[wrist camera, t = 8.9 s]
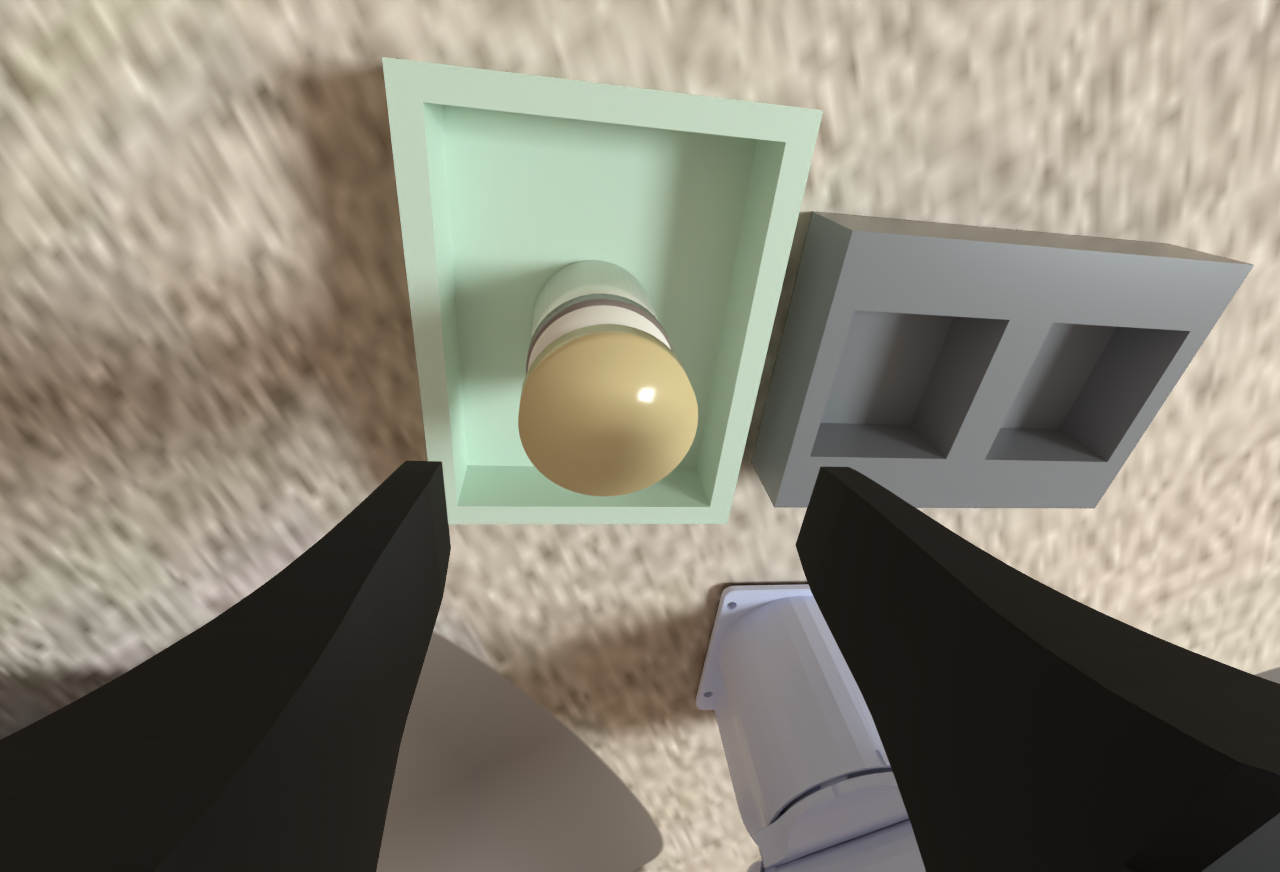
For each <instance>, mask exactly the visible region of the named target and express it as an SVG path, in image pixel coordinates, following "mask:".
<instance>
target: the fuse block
mask: <svg viewBox="0 0 1280 872" xmlns="http://www.w3.org/2000/svg"><path fill="white" fill-rule="evenodd" d="M1253 266H1254V265H1252V264H1248V263H1244V262H1240V261H1236V260H1232V259H1228V258H1224V257H1220V256H1216V255H1212V254H1208V253H1204V252H1200V251H1196V250H1192V249H1188V248H1184V247H1180V246H1176V245H1172V244H1166V243H1154V242H1143V241H1132V240H1121V239H1110V238H1099V237H1088V236H1077V235H1066V234H1055V233H1044V232H1033V231H1022V230H1011V229H1000V228H989V227H978V226H967V225H956V224H945V223H934V222H923V221H912V220H901V219H890V218H879V217H868V216H857V215H846V214H834V213H823V212H812V215H811V220H810V224H809V228H808V232H807V236H806V240H805V244H804V248H803V252H802V257H801V261H800V265H799V269H798V273H797V277H796V281H795V285H794V289H793V294H792V298H791V302H790V306H789V310H788V314H787V318H786V322H785V326H784V331H783V335H782V339H781V343H780V347H779V351H778V355H777V359H776V363H775V368H774V372H773V376H772V380H771V384H770V388H769V392H768V396H767V400H766V405H765V409H764V413H763V417H762V421H761V425H760V429H759V433H758V437H757V442H756V446H755V450H754V454H753V458H752V462H751V463H752V465H753V467H754V469H755V471H756V473H757V474H758V476H759V478H760V480H761V482H762V484H763V486H764V488H765V490H766V492H767V494H768V496H769V498H770V500H771V502H772V503H773V505H774V507H808V504H809V501H810V498H811V495H812V492H813V489H814V485H815V482H816V479H817V476H818V473H819V470H820V467H850V468H852V469H854V470H856V471H858V472H860V473H862V474H863V475H865V476H867V477H868V478H870V479H872V480H873V481H875V482H876V483H878V484H880V485H881V486H883V487H884V488H886V489H887V490H889V491H891V492H892V493H894V494H895V495H897V496H898V497H900V498H901V499H903V500H904V501H906V502H907V503H909V504H910V505H912V506H913V507H915V508H1095V507H1096V506H1097V504H1098V503H1099V501H1100V500H1101V498H1102V496H1103V495H1104V493H1105V492H1106V490H1107V489H1108V487H1109V486H1110V484H1111V483H1112V481H1113V480H1114V478H1115V477H1116V475H1117V474H1118V472H1119V471H1120V469H1121V467H1122V466H1123V464H1124V463H1125V461H1126V460H1127V458H1128V457H1129V455H1130V454H1131V452H1132V451H1133V449H1134V448H1135V446H1136V445H1137V443H1138V442H1139V440H1140V438H1141V437H1142V435H1143V434H1144V432H1145V431H1146V429H1147V428H1148V426H1149V425H1150V423H1151V422H1152V420H1153V419H1154V417H1155V416H1156V414H1157V413H1158V411H1159V409H1160V408H1161V406H1162V405H1163V403H1164V402H1165V400H1166V399H1167V397H1168V396H1169V394H1170V393H1171V391H1172V390H1173V388H1174V387H1175V385H1176V384H1177V382H1178V380H1179V379H1180V377H1181V376H1182V374H1183V373H1184V371H1185V370H1186V368H1187V367H1188V365H1189V364H1190V362H1191V361H1192V359H1193V358H1194V356H1195V355H1196V353H1197V351H1198V350H1199V348H1200V347H1201V345H1202V344H1203V342H1204V341H1205V339H1206V338H1207V336H1208V335H1209V333H1210V332H1211V330H1212V329H1213V327H1214V326H1215V324H1216V322H1217V321H1218V319H1219V318H1220V316H1221V315H1222V313H1223V312H1224V310H1225V309H1226V307H1227V306H1228V304H1229V303H1230V301H1231V300H1232V298H1233V297H1234V295H1235V293H1236V292H1237V290H1238V289H1239V287H1240V286H1241V284H1242V283H1243V281H1244V280H1245V278H1246V277H1247V275H1248V274H1249V272H1250V271H1251V269H1252V268H1253Z"/></svg>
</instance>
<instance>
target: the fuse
mask: <svg viewBox="0 0 1280 872" xmlns="http://www.w3.org/2000/svg"><path fill="white" fill-rule="evenodd" d="M697 425H698V405H697V401H696V396H695V393H694V391H693V388H692V386H691V384H690V381H689V379H688V377H687V375H686V372H685V370H684V368H683V366H682V364H681V363H680V361H679V359H678V358H677V356H676V355H675V354H674V351H673V349H672V346H671V344H670V341H669V339H668V337H667V335H666V332H665V330H664V329H663V327H662V325H661V324H660V322H659V321H658V318H657V316H656V314H655V311H654V309H653V307H652V305H651V302H650V300H649V298H648V295H647V293H646V291H645V289H644V288H643V286H642V285H641V283H640V282H639V281H638V280H637V279H636V278H635V277H634V276H633V275H632V274H631V273H630V272H628V271H627V270H626V269H624V268H622V267H620V266H618V265H615V264H613V263H610V262H606V261H599V260H586V261H580V262H576V263H573V264H570V265H568V266H566V267H564V268H562V269H560V270H559V271H557V272H556V273H555V274H554V275H552V276H551V277H550V278H549V279H548V280H547V282H546V283H545V284H544V286H543V287H542V289H541V290H540V292H539V294H538V297H537V300H536V303H535V308H534V315H533V324H532V334H531V341H530V344H529V349H528V354H527V363H526V376H525V379H524V382H523V385H522V391H521V397H520V406H519V414H518V429H519V436H520V439H521V443H522V446H523V448H524V450H525V453H526V455H527V456H528V458H529V459H530V461H531V462H532V464H533V465H534V466H535V467H536V468H537V469H538V471H539V472H541V473H542V474H543V475H544V476H545V477H546V478H548V479H549V480H551V481H552V482H554V483H555V484H557V485H559V486H561V487H563V488H565V489H567V490H570V491H573V492H576V493H580V494H584V495H591V496H606V497H607V496H619V495H624V494H629V493H633V492H636V491H639V490H642V489H644V488H647V487H649V486H651V485H653V484H654V483H656V482H658V481H660V480H661V479H662V478H664V477H665V476H667V475H668V474H669V473H670V472H671V471H673V470H674V469H675V468H676V467H677V465H678V464H679V463H680V462H681V461H682V460H683V458H684V457H685V455H686V454H687V452H688V451H689V449H690V447H691V445H692V443H693V440H694V437H695V434H696V430H697Z"/></svg>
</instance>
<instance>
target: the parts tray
mask: <svg viewBox="0 0 1280 872" xmlns="http://www.w3.org/2000/svg"><path fill="white" fill-rule="evenodd" d="M382 63H383V72H384V81H385V89H386V98H387V107H388V116H389V125H390V133H391V142H392V151H393V160H394V169H395V177H396V186H397V195H398V204H399V213H400V221H401V230H402V239H403V248H404V257H405V265H406V274H407V283H408V292H409V301H410V309H411V318H412V327H413V336H414V345H415V353H416V362H417V371H418V380H419V388H420V397H421V406H422V415H423V424H424V432H425V441H426V450H427V459H428V461H442V467H443V477H444V487H445V496H446V506H447V516H448V524H727V522H728V518H729V514H730V509H731V505H732V501H733V496H734V492H735V488H736V484H737V479H738V475H739V471H740V466H741V462H742V458H743V453H744V449H745V445H746V440H747V436H748V432H749V428H750V423H751V419H752V415H753V410H754V406H755V402H756V397H757V393H758V389H759V384H760V380H761V376H762V372H763V367H764V363H765V359H766V354H767V350H768V346H769V341H770V337H771V333H772V328H773V324H774V320H775V316H776V311H777V307H778V303H779V298H780V294H781V290H782V285H783V281H784V277H785V272H786V268H787V264H788V260H789V255H790V251H791V247H792V242H793V238H794V234H795V229H796V225H797V221H798V216H799V212H800V208H801V204H802V199H803V195H804V191H805V186H806V182H807V178H808V173H809V169H810V165H811V160H812V156H813V152H814V148H815V143H816V139H817V135H818V130H819V126H820V122H821V117H822V113H823V110H816V109H808V108H800V107H791V106H783V105H775V104H767V103H758V102H750V101H742V100H733V99H725V98H717V97H709V96H700V95H692V94H684V93H676V92H667V91H659V90H651V89H643V88H634V87H626V86H618V85H609V84H601V83H593V82H585V81H576V80H568V79H560V78H552V77H543V76H535V75H527V74H519V73H510V72H502V71H494V70H485V69H477V68H469V67H461V66H452V65H444V64H436V63H428V62H419V61H411V60H403V59H395V58H386V57H382ZM586 260H599V261H606V262H610V263H613V264H615V265H618V266H620V267H622V268H624V269H626V270H627V271H628V272H630V273H631V274H632V275H633V276H634V277H635V278H636V279H637V280H638V281H639V282H640V283H641V285H642V286H643V288H644V289H645V291H646V293H647V295H648V298H649V300H650V302H651V305H652V307H653V309H654V311H655V314H656V316H657V318H658V321H659V322H660V324H661V325H662V327H663V329H664V330H665V332H666V335H667V337H668V339H669V341H670V344H671V346H672V349H673V351H674V354H675V355H676V356H677V358H678V359H679V361H680V363H681V364H682V366H683V368H684V370H685V372H686V375H687V377H688V379H689V381H690V384H691V386H692V388H693V391H694V393H695V396H696V401H697V405H698V425H697V430H696V434H695V437H694V440H693V443H692V445H691V447H690V449H689V451H688V452H687V454H686V455H685V457H684V458H683V460H682V461H681V462H680V463H679V464H678V465H677V467H676V468H675V469H674V470H673V471H671V472H670V473H669V474H668V475H667V476H665V477H664V478H662V479H661V480H660V481H658V482H656V483H654V484H653V485H651V486H649V487H647V488H644V489H642V490H639V491H636V492H633V493H629V494H624V495H619V496H607V497H606V496H591V495H584V494H580V493H576V492H573V491H570V490H567V489H565V488H563V487H561V486H559V485H557V484H555V483H554V482H552V481H551V480H549V479H548V478H546V477H545V476H544V475H543V474H542V473H541V472H539V471H538V469H537V468H536V467H535V466H534V465H533V464H532V462H531V461H530V459H529V458H528V456H527V455H526V453H525V450H524V448H523V446H522V443H521V439H520V436H519V429H518V414H519V406H520V397H521V391H522V385H523V382H524V379H525V376H526V363H527V354H528V349H529V344H530V341H531V334H532V324H533V315H534V308H535V303H536V300H537V297H538V294H539V292H540V290H541V289H542V287H543V286H544V284H545V283H546V282H547V280H548V279H549V278H550V277H551V276H552V275H554V274H555V273H556V272H557V271H559V270H560V269H562V268H564V267H566V266H568V265H570V264H573V263H576V262H580V261H586Z"/></svg>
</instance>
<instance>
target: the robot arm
mask: <svg viewBox="0 0 1280 872" xmlns="http://www.w3.org/2000/svg"><path fill="white" fill-rule="evenodd" d="M796 548H797V551H798V554H799V557H800V560H801V564H802V567H803V570H804V573H805V576H806V579H807V581H808V584H798V585H747V586H729V587H727V588H726V589H724V590H723V592H722V594H721V599H720V603H719V607H718V611H717V615H716V619H715V623H714V627H713V631H712V635H711V639H710V643H709V647H708V651H707V655H706V659H705V664H704V668H703V672H702V676H701V680H700V684H699V688H698V692H697V696H696V700H695V701H696V706H697V708H698V709H700V710H714V711H715V715H716V719H717V724H718V728H719V732H720V736H721V740H722V744H723V748H724V752H725V756H726V760H727V764H728V768H729V772H730V776H731V780H732V784H733V788H734V792H735V796H736V800H737V804H738V808H739V811H740V814H741V817H742V820H743V823H744V825H745V827H746V829H747V831H748V832H749V834H750V836H751V837H752V839H753V840H754V841H755V843H756V844H757V845H758V846H759V850H760V854H761V858H762V861H760V862H755V863H753V864H752V865H751V866H750V867H749V870H748V872H1280V684H1278V683H1275V682H1272V681H1269V680H1266V679H1263V678H1260V677H1258V676H1255V675H1252V674H1249V673H1247V672H1244V671H1241V670H1239V669H1236V668H1234V667H1231V666H1228V665H1226V664H1223V663H1220V662H1218V661H1215V660H1213V659H1210V658H1207V657H1205V656H1202V655H1199V654H1197V653H1194V652H1192V651H1189V650H1187V649H1184V648H1182V647H1179V646H1177V645H1174V644H1172V643H1170V642H1167V641H1165V640H1162V639H1160V638H1157V637H1155V636H1153V635H1150V634H1148V633H1146V632H1143V631H1141V630H1139V629H1137V628H1134V627H1132V626H1130V625H1128V624H1125V623H1123V622H1121V621H1119V620H1116V619H1114V618H1112V617H1110V616H1107V615H1105V614H1103V613H1101V612H1099V611H1096V610H1094V609H1092V608H1090V607H1088V606H1086V605H1084V604H1082V603H1080V602H1078V601H1075V600H1073V599H1071V598H1069V597H1068V596H1066V595H1064V594H1062V593H1060V592H1058V591H1056V590H1054V589H1052V588H1050V587H1048V586H1046V585H1044V584H1042V583H1040V582H1038V581H1036V580H1034V579H1033V578H1031V577H1029V576H1027V575H1025V574H1023V573H1021V572H1020V571H1018V570H1016V569H1014V568H1012V567H1011V566H1009V565H1007V564H1005V563H1004V562H1002V561H1000V560H999V559H997V558H995V557H993V556H992V555H990V554H988V553H987V552H985V551H983V550H982V549H980V548H978V547H976V546H975V545H973V544H971V543H970V542H968V541H967V540H965V539H963V538H962V537H960V536H959V535H957V534H955V533H954V532H952V531H951V530H949V529H947V528H946V527H944V526H943V525H941V524H940V523H938V522H936V521H935V520H933V519H932V518H930V517H929V516H927V515H926V514H924V513H923V512H921V511H920V510H918V509H916V508H915V507H913V506H912V505H910V504H909V503H907V502H906V501H904V500H903V499H901V498H900V497H898V496H897V495H895V494H894V493H892V492H891V491H889V490H887V489H886V488H884V487H883V486H881V485H880V484H878V483H876V482H875V481H873V480H872V479H870V478H868V477H867V476H865V475H863V474H862V473H860V472H858V471H856V470H854V469H852V468H850V467H820V470H819V473H818V476H817V479H816V482H815V485H814V489H813V492H812V495H811V498H810V501H809V504H808V508H807V511H806V514H805V517H804V520H803V523H802V527H801V530H800V533H799V536H798V539H797V542H796ZM450 550H451V546H450V536H449V526H448V516H447V506H446V496H445V487H444V477H443V467H442V461H406V462H405V463H403V464H402V465H401V466H400V467H399V468H398V469H397V470H396V471H394V472H393V473H392V474H391V475H390V476H389V477H388V478H387V479H386V480H385V481H384V482H383V483H382V484H381V485H380V486H379V487H378V488H377V489H375V490H374V491H373V492H372V493H371V494H370V495H369V496H368V497H367V498H366V499H365V500H364V501H363V502H362V503H361V504H360V505H358V506H357V507H356V508H355V509H354V510H353V511H352V512H351V513H350V514H349V515H347V516H346V517H345V518H344V519H343V520H342V521H341V522H340V523H338V524H337V525H336V526H335V527H334V528H333V529H332V530H331V531H330V532H328V533H327V534H326V535H325V536H324V537H323V538H322V539H320V540H319V541H318V542H317V543H316V544H314V545H313V546H312V547H311V548H309V549H308V550H307V551H306V552H304V553H303V554H302V555H301V556H300V557H298V558H297V559H296V560H295V561H293V562H292V563H291V564H290V565H289V566H287V567H286V568H285V569H284V570H282V571H281V572H280V573H278V574H277V575H276V576H274V577H273V578H272V579H270V580H269V581H268V582H266V583H265V584H264V585H262V586H261V587H259V588H258V589H257V590H255V591H254V592H253V593H251V594H250V595H248V596H247V597H245V598H244V599H242V600H241V601H240V602H238V603H237V604H235V605H234V606H232V607H231V608H229V609H228V610H226V611H225V612H224V613H222V614H221V615H219V616H218V617H216V618H215V619H213V620H212V621H210V622H209V623H207V624H205V625H204V626H202V627H201V628H199V629H197V630H196V631H194V632H193V633H191V634H189V635H188V636H186V637H184V638H183V639H181V640H179V641H178V642H176V643H174V644H173V645H171V646H170V647H168V648H166V649H165V650H163V651H161V652H160V653H158V654H156V655H155V656H153V657H151V658H150V659H148V660H146V661H145V662H143V663H142V664H140V665H138V666H137V667H135V668H133V669H132V670H130V671H128V672H127V673H125V674H123V675H121V676H120V677H118V678H116V679H114V680H113V681H111V682H109V683H107V684H105V685H103V686H102V687H100V688H98V689H96V690H94V691H93V692H91V693H89V694H87V695H85V696H83V697H82V698H80V699H78V700H76V701H74V702H73V703H71V704H69V705H67V706H65V707H63V708H61V709H59V710H57V711H55V712H54V713H52V714H50V715H48V716H46V717H44V718H42V719H40V720H38V721H36V722H34V723H33V724H31V725H29V726H27V727H25V728H23V729H21V730H19V731H17V732H15V733H13V734H11V735H9V736H7V737H5V738H3V739H1V740H0V872H376V869H377V863H378V858H379V852H380V847H381V841H382V836H383V831H384V825H385V820H386V814H387V808H388V803H389V798H390V794H391V788H392V783H393V778H394V773H395V768H396V763H397V758H398V753H399V748H400V743H401V739H402V735H403V732H404V728H405V723H406V720H407V716H408V713H409V709H410V706H411V703H412V699H413V695H414V693H415V689H416V686H417V683H418V679H419V676H420V673H421V669H422V666H423V662H424V659H425V656H426V652H427V649H428V646H429V642H430V639H431V636H432V632H433V629H434V626H435V622H436V619H437V615H438V612H439V609H440V605H441V602H442V598H443V592H444V587H445V581H446V575H447V569H448V562H449V556H450ZM730 602H732V603H730Z"/></svg>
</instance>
